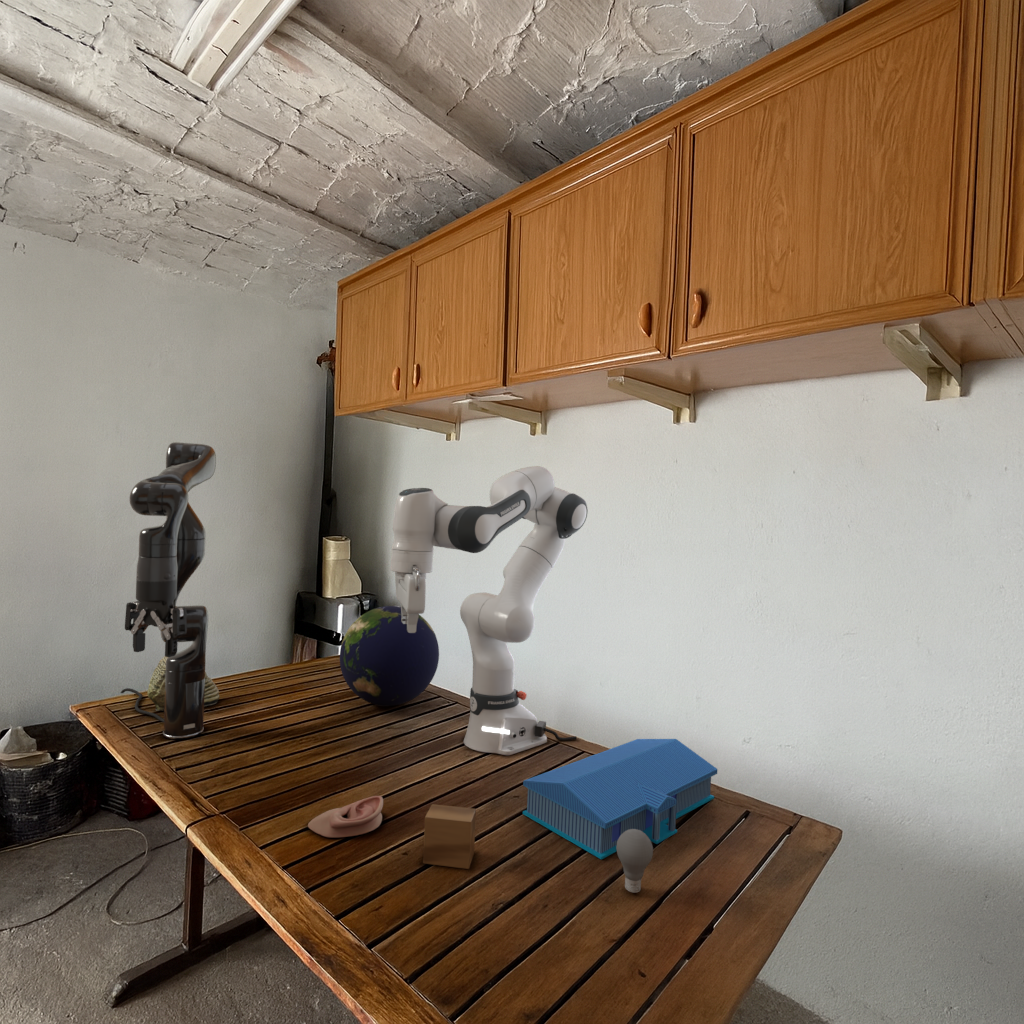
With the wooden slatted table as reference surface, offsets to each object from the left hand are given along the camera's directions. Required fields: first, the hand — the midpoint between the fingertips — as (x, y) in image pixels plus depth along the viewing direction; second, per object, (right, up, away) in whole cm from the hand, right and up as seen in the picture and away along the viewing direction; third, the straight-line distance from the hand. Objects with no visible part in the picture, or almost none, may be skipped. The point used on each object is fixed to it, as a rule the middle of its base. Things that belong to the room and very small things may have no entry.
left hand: (154, 653), depth 133 cm
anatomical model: (+43, -31, -10) cm, 54 cm away
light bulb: (+95, -34, -28) cm, 105 cm away
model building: (+100, -33, +1) cm, 105 cm away
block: (+64, -32, -21) cm, 75 cm away
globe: (+37, -29, +61) cm, 77 cm away
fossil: (-21, -27, +51) cm, 62 cm away
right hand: (+53, +5, +2) cm, 53 cm away
